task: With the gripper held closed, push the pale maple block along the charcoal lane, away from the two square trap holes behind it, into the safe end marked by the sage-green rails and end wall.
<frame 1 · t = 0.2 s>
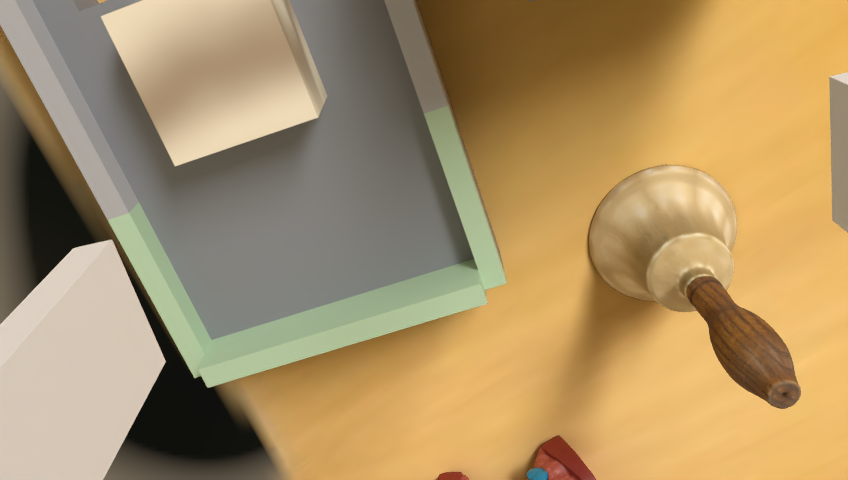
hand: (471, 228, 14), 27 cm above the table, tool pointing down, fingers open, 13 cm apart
lane deck: (238, 32, 39), on the table
hand bell: (660, 232, 44), on the table
block: (232, 51, 37), point 2 cm above the table, touching lane deck
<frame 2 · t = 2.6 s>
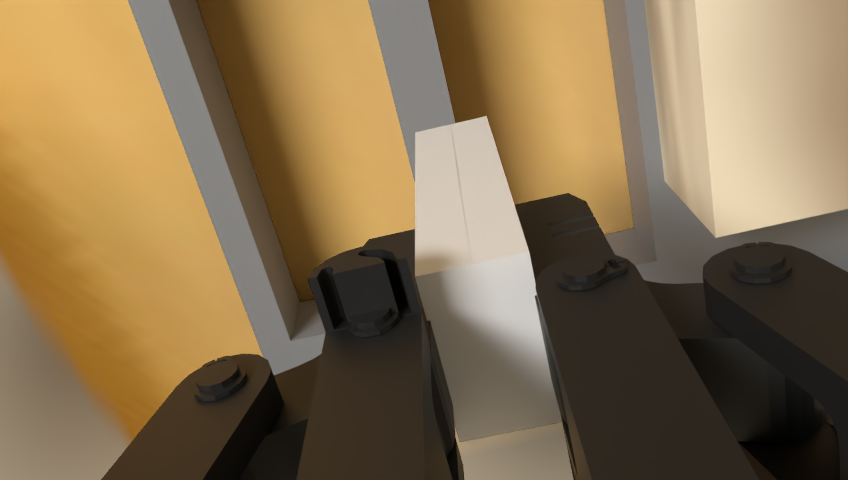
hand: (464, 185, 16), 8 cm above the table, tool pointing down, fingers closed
lane deck: (727, 21, 23), on the table
block: (781, 31, 21), point 2 cm above the table, touching lane deck
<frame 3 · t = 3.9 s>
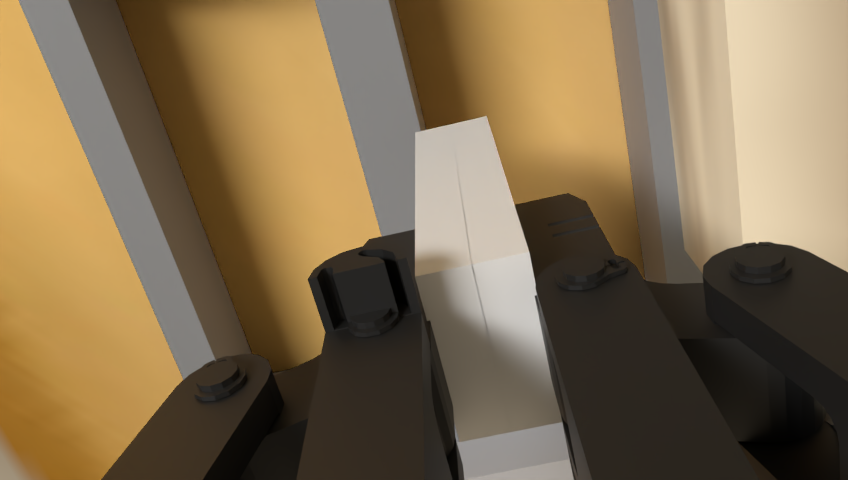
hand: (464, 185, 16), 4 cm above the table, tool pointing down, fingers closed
lane deck: (759, 58, 19), on the table
block: (828, 75, 17), point 2 cm above the table, touching lane deck
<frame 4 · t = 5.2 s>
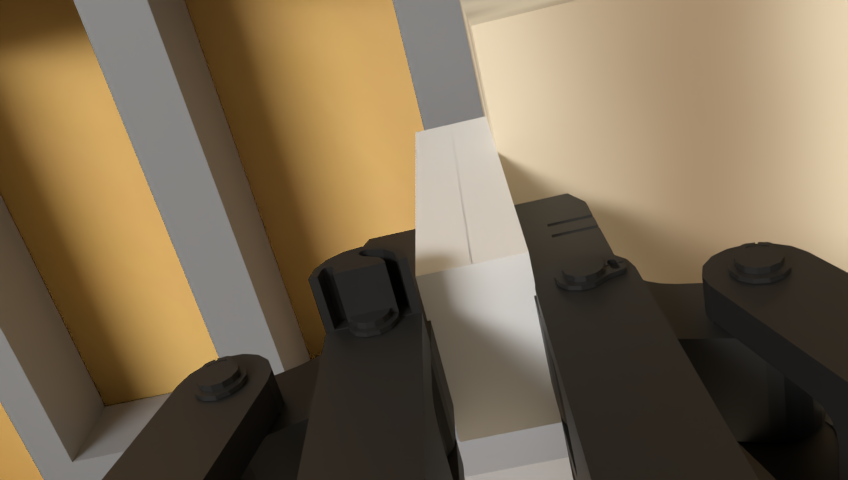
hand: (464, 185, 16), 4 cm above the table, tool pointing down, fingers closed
lane deck: (564, 102, 20), on the table
block: (643, 116, 17), point 3 cm above the table, touching gripper
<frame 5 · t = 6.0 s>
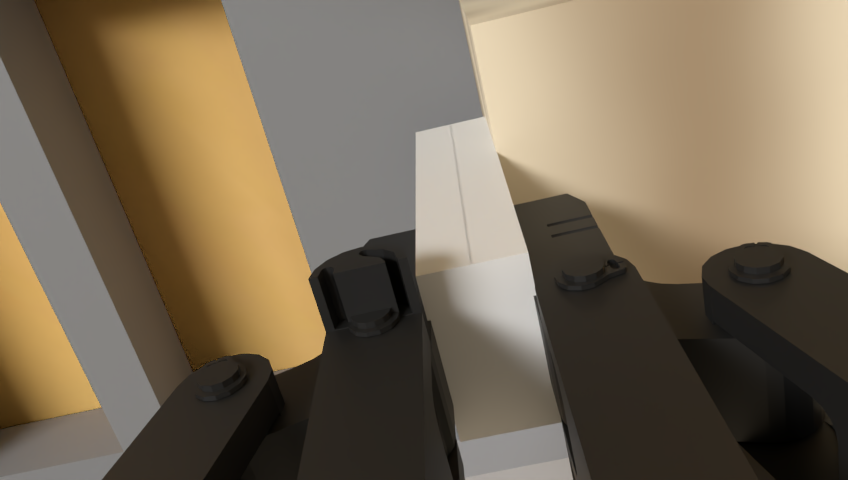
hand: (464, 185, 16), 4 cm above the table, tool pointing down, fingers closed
lane deck: (430, 133, 20), on the table
block: (643, 116, 17), point 3 cm above the table, touching gripper, lane deck
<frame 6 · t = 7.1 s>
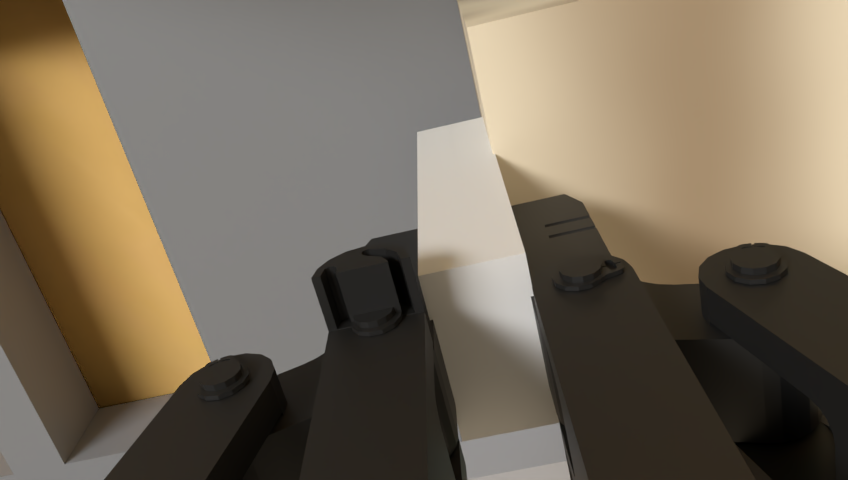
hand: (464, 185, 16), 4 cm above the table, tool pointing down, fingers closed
lane deck: (311, 162, 20), on the table
block: (642, 118, 17), point 2 cm above the table, touching gripper, lane deck
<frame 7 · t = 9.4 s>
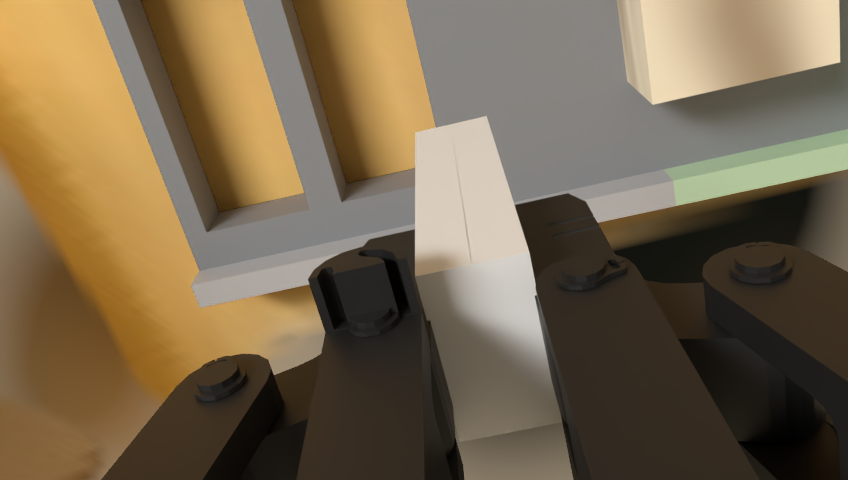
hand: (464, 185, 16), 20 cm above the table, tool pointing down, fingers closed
lane deck: (493, 18, 35), on the table
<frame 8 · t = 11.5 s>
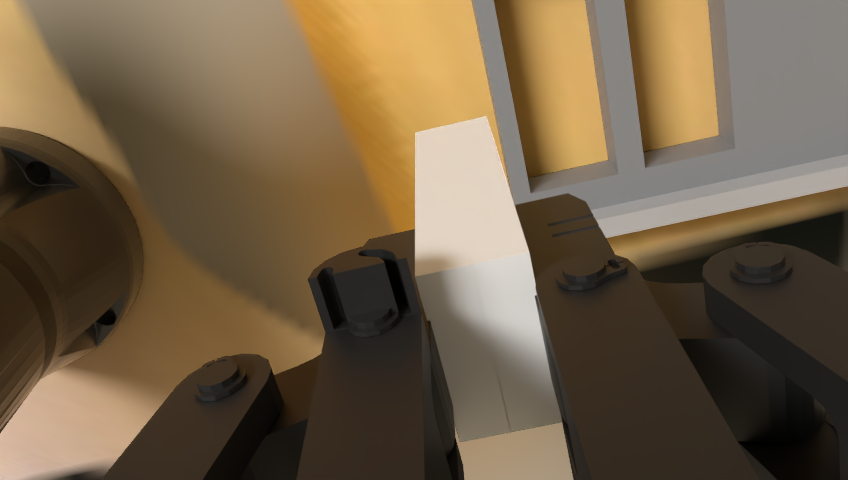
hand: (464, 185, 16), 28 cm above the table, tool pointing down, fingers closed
lane deck: (774, 18, 43), on the table
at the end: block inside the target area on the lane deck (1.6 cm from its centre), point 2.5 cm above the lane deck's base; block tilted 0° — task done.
